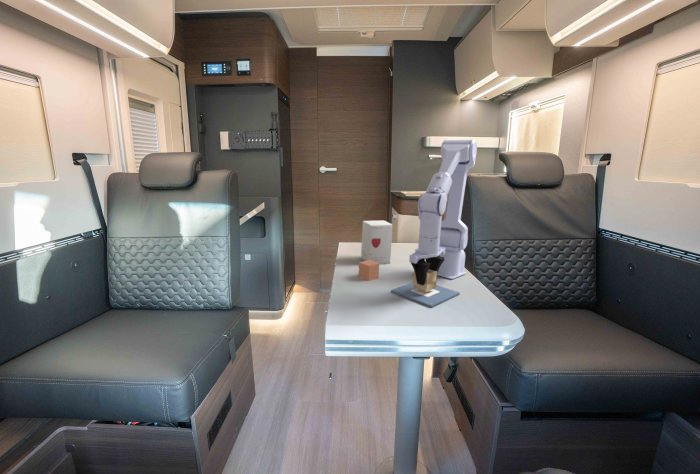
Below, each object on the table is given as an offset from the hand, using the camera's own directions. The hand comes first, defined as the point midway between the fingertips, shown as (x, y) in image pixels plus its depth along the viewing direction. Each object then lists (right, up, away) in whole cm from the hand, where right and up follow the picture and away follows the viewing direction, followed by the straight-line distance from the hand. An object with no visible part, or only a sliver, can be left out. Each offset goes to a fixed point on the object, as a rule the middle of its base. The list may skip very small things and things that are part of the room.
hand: (426, 282), depth 97 cm
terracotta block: (-16, 0, +13) cm, 21 cm away
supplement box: (-12, +4, +31) cm, 33 cm away
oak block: (0, -2, +1) cm, 2 cm away
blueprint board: (0, -3, +1) cm, 3 cm away
